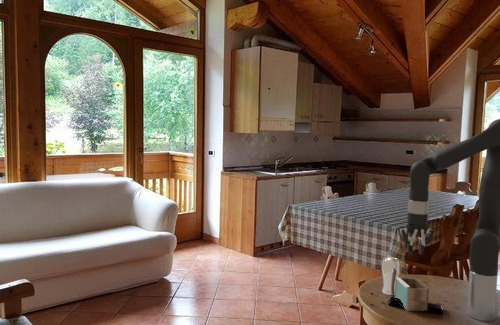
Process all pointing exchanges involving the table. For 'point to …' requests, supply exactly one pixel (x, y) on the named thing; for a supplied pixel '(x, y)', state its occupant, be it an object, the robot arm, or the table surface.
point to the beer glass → (390, 274)
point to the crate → (415, 295)
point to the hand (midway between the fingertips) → (415, 253)
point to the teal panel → (402, 291)
